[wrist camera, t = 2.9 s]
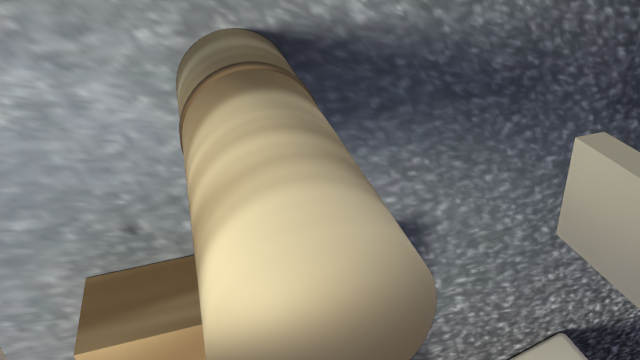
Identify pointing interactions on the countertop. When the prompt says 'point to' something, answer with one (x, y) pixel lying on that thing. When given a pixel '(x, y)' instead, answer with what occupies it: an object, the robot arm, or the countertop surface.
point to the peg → (288, 219)
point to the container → (552, 350)
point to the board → (142, 314)
